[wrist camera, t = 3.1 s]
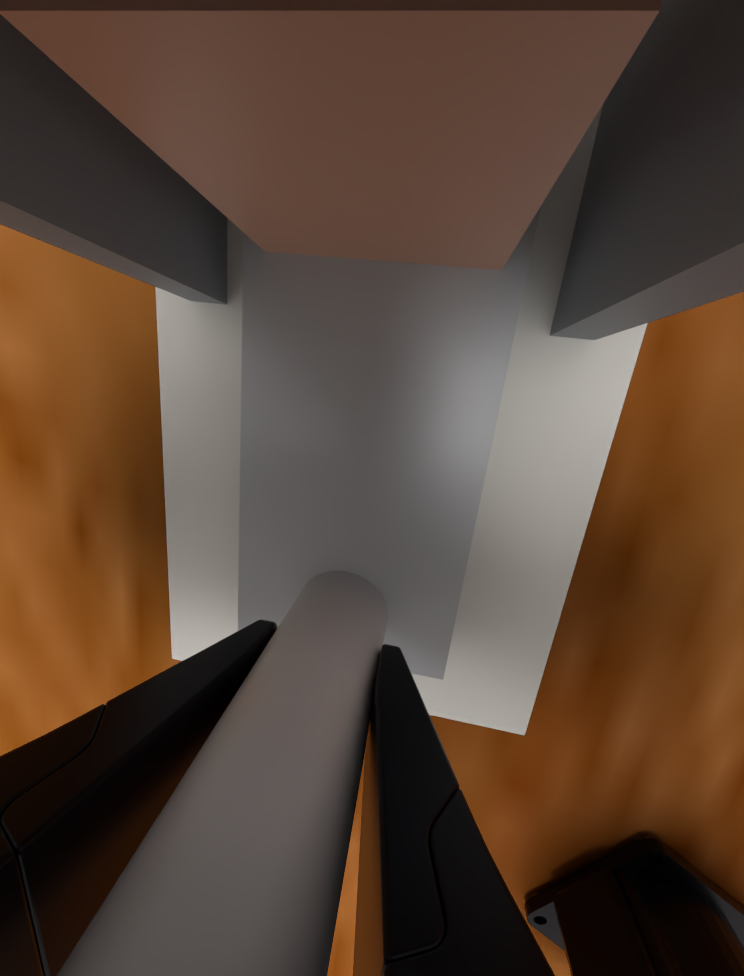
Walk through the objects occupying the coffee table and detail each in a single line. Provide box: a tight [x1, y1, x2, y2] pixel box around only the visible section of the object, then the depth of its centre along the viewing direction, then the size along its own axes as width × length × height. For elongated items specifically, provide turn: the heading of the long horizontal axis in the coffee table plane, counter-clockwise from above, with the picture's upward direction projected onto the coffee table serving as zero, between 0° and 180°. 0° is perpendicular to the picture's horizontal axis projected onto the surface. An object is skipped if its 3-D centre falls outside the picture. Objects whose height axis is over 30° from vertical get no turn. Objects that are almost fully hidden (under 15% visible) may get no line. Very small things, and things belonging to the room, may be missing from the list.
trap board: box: [155, 105, 647, 735], centre depth 9 cm, size 24×12×2 cm, turn 174°
